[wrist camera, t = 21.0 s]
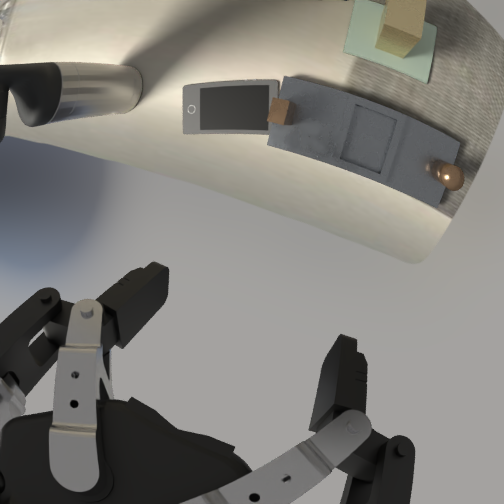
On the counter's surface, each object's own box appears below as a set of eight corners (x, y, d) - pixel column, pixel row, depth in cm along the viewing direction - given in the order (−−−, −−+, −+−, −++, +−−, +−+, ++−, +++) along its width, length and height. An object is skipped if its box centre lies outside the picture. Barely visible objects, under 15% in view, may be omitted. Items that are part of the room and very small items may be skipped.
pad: (343, 52, 28) (343, 51, 28) (355, -2, 23) (355, -4, 23) (426, 83, 26) (427, 83, 26) (436, 28, 21) (437, 27, 21)
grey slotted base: (270, 144, 37) (256, 148, 31) (287, 78, 32) (275, 68, 26) (433, 204, 33) (448, 220, 27) (455, 141, 28) (475, 146, 22)
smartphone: (279, 79, 33) (278, 79, 32) (278, 135, 37) (277, 135, 36) (184, 85, 37) (182, 85, 36) (185, 134, 41) (182, 134, 40)
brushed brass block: (374, 48, 26) (384, 23, 18) (381, 14, 23) (391, -16, 15) (402, 58, 25) (421, 38, 17) (409, 25, 22) (426, -2, 14)
